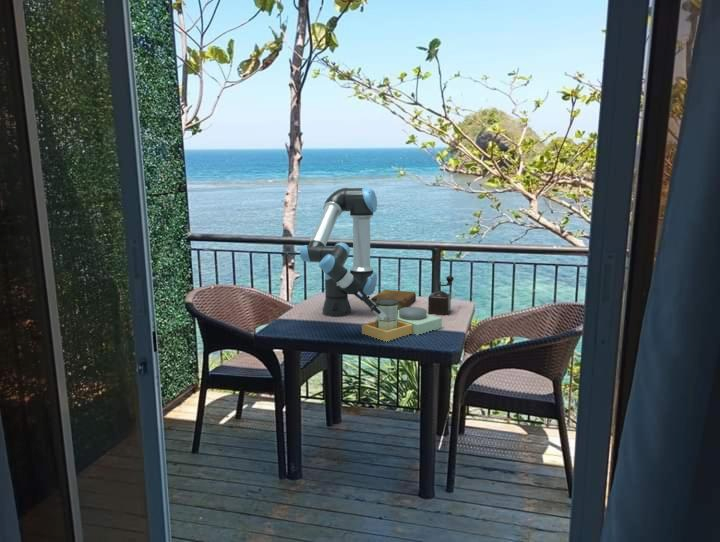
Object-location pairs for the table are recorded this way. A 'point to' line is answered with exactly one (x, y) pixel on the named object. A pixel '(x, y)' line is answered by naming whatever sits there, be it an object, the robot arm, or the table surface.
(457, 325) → the table surface
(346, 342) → the table surface
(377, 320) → the coffee can
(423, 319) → the block with grey dome
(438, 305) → the pepper mill
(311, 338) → the table surface
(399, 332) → the shallow square tray
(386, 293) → the diary
